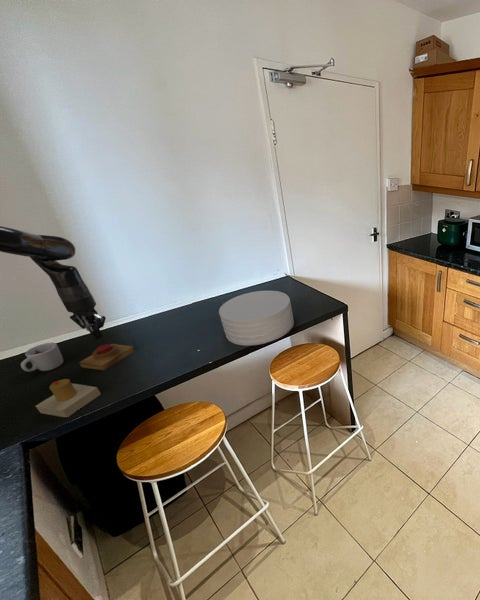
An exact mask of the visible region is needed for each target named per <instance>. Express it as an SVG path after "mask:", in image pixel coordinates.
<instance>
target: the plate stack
mask: <svg viewBox="0 0 480 600" xmlns="http://www.w3.org/2000/svg"><path fill="white" fill-rule="evenodd" d="M218 315H219V317H220V321H221V325H222V327H223V331H224V335H225V338H226V340H228V342H230V343H232V344H234V345H237V346H258V345H264V344H268V343H271V342H274V341H276V340H278V339H280V338H282V337H284V336H285V335H286V334H288V333H289V332H290V331H291V330H292V328H293V327H294V325H295V321H294V315H293V310H292V304H291V299H290V296H289V295H288V294H286V293H284V292H281V291H278V290H257V291H251V292H246V293H242V294H240V295H237V296H234V297H232V298H231V299H228V300H227V301H225V302H224V303H223V304H222V305H221V306H220V307H219V310H218Z"/></svg>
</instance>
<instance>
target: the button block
mask: <svg viewBox="0 0 480 600" xmlns="http://www.w3.org/2000/svg"><path fill="white" fill-rule="evenodd" d="M109 345H110V346H111V348H112V350H111V351H109V352H106V353H103V354H98V352H97V350H96V349H95V350H94V351H93V352H92V353H91V355H90V356H88V357H85V358H84V359H82V360H80V361H79V362H78V363H79V365H80V368H85V369H91V370H98V371H106V370H108V369H109V368H111V367H112V366H114V365H115V364H117V363H118V362H120V361H121V360H123V359H125V358H126V357H128V356H130V355H131V354H132V353H134V352H135V348H134V346H133V345H124V344H117V343H110V344H109Z"/></svg>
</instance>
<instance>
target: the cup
mask: <svg viewBox="0 0 480 600" xmlns="http://www.w3.org/2000/svg"><path fill="white" fill-rule="evenodd" d="M24 355H25V357H26V358H25V359H24V360H22V361H21V362H20V368H21V369H22V370H23V371H24V372H28V373H30V372H34V371H37V370H39V371H41V372H48V371H52V370H55V369H57V368H58V367H60V366H62V365H63V364H64V357H63V355H62V353H61V350H60V348H59V345H58V344H57V343H56V342H45V343H41V344H38V345H35V346H33V347H31V348H29V349H27V351H25V353H24ZM28 363H31V366H32V367H31V368H28V367H27V364H28Z"/></svg>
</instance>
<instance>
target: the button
mask: <svg viewBox="0 0 480 600" xmlns="http://www.w3.org/2000/svg"><path fill="white" fill-rule="evenodd" d="M95 350H97V352H98V354H103V353H106V352H109V351H111V350H112V348H111V346H110V344H109V343H107V344H102V345H100V346H98V347H96V348H95Z"/></svg>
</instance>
